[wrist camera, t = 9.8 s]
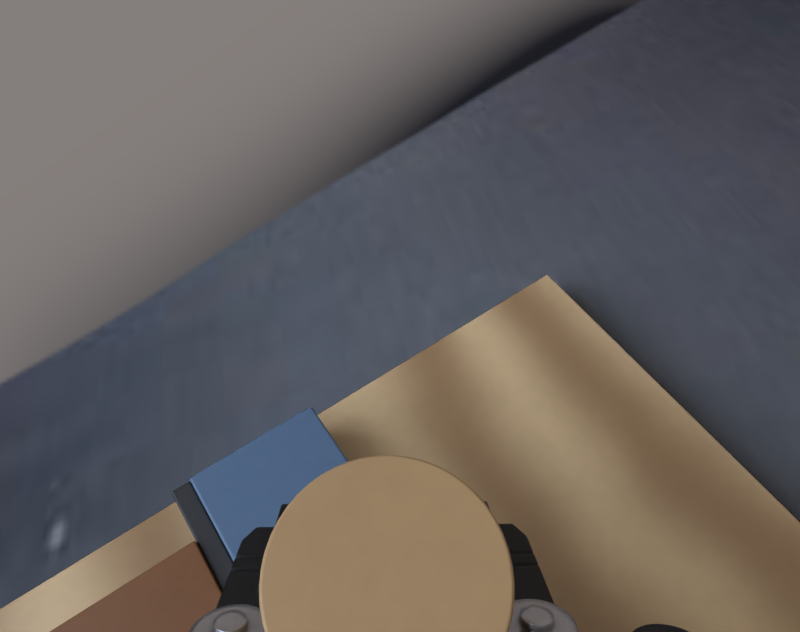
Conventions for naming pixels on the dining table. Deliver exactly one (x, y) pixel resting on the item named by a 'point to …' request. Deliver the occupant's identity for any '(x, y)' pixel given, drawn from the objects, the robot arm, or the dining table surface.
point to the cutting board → (543, 480)
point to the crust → (155, 598)
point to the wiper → (352, 537)
